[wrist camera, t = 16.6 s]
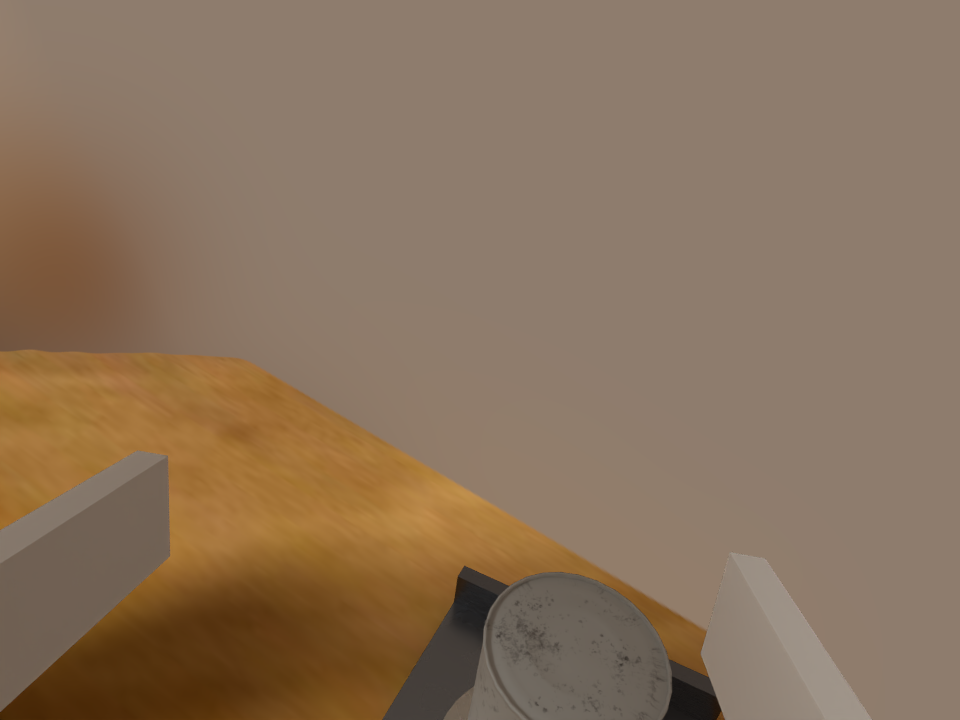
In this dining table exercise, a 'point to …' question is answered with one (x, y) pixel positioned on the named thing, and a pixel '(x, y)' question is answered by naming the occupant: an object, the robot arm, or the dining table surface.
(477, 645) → the plate
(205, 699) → the dining table surface
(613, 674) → the speckled tin can
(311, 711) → the dining table surface
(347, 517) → the dining table surface
